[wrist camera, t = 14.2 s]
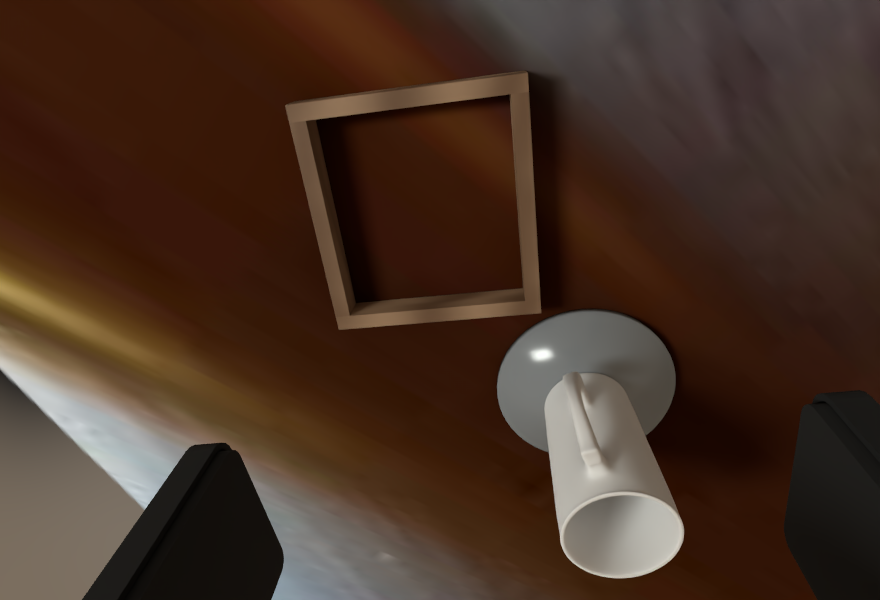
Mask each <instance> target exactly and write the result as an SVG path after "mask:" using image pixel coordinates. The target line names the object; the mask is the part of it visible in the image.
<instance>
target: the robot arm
mask: <svg viewBox="0 0 880 600" xmlns="http://www.w3.org/2000/svg"><path fill="white" fill-rule="evenodd" d="M784 532H785V537H786V541H787V544H788V547H789V549H790V551H791V553H792V554H793V556H794V558H795V560H796V562H797V563H798V565H799V567H800V569H801V571H802V572H803V574H804V576H805V578H806V580H807V581H808V583H809V585H810V587H811V589H812V590H813V592H814V594H815V596H816V598H817V599H818V600H880V405H879V404H878V403H877V402H876V401H875V400H874V399H873V398H872V397H871V396H870V395H868V394H867V393H866V392H864V391H860V390H858V391H845V392H833V393H821V394H817V395H816V396H815V398H814V399H813V403H812V404H807V405H805V406H804V407H803V408H802V412H801V418H800V425H799V431H798V438H797V444H796V451H795V457H794V464H793V470H792V477H791V483H790V490H789V496H788V503H787V509H786V516H785V522H784ZM283 563H284V556H283V550H282V547H281V545H280V543H279V541H278V539H277V536H276V534H275V532H274V530H273V527H272V525H271V523H270V521H269V518H268V516H267V514H266V512H265V510H264V507H263V505H262V503H261V501H260V498H259V496H258V494H257V492H256V489H255V487H254V485H253V483H252V481H251V478H250V476H249V474H248V472H247V469H246V467H245V465H244V463H243V460H242V458H241V456H240V454H239V453H238V452H237V451H236V450H232V449H231V448H230V446H229V445H228V444H226V443H213V444H201V445H194V446H191V447H190V448H189V449H188V450H187V451H186V452H185V454H184V455H183V456H182V458H181V459H180V461H179V462H178V464H177V465H176V466H175V468H174V469H173V471H172V472H171V474H170V475H169V476H168V478H167V479H166V481H165V482H164V484H163V485H162V486H161V488H160V489H159V491H158V492H157V494H156V495H155V496H154V498H153V499H152V501H151V502H150V504H149V505H148V506H147V508H146V509H145V511H144V512H143V514H142V515H141V516H140V518H139V519H138V521H137V522H136V523H135V525H134V526H133V528H132V529H131V531H130V532H129V534H128V535H127V536H126V538H125V539H124V541H123V542H122V543H121V545H120V547H119V548H118V549H117V551H116V552H115V554H114V555H113V556H112V558H111V559H110V561H109V562H108V563H107V565H106V566H105V568H104V569H103V571H102V572H101V574H100V575H99V576H98V578H97V579H96V581H95V582H94V584H93V585H92V586H91V588H90V589H89V591H88V592H87V593H86V595H85V596H84V598H83V599H82V600H271V599H272V596H273V593H274V591H275V588H276V585H277V583H278V580H279V578H280V575H281V572H282V569H283Z"/></svg>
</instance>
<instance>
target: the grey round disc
mask: <svg viewBox="0 0 880 600" xmlns="http://www.w3.org/2000/svg"><path fill="white" fill-rule="evenodd" d="M571 372H578V373H579V374H580V373H598V374H602V375H605V376H608V377H610V378H612V379H614V380H615V381H616V382H618V383H619V384H620V385H621V386H622V388H623V389H624V390H625V392H626V394H627V396H628V398H629V400H630V403H631V405H632V407H633V409H634V411H635V413H636V415H637V418H638V420H639V422H640V425H641V427H642V430H643V432H644V434H645V436H646V435H647V434H648V433H649V432H651V431H652V430H653V429H654V428H655V427H656V426H657V425H658V423H659V422H660V421H661V420H662V418H663V417H664V415H665V414H666V412H667V411H668V409H669V407H670V404H671V402H672V399H673V396H674V392H675V385H676V374H675V369H674V364H673V361H672V359H671V356H670V354H669V352H668V350H667V349H666V347H665V345H664V344H663V342H662V341H661V339H660V338H659V337H658V336H657V334H655V333H654V332H653V331H652V330H651V329H650V328H649V327H648V326H646V325H645V324H643V323H642V322H640V321H638V320H636V319H634V318H632V317H630V316H628V315H625V314H622V313H619V312H615V311H610V310H604V309H578V310H571V311H567V312H563V313H559V314H556V315H553V316H551V317H548V318H546V319H544V320H542V321H540V322H538V323H536V324H535V325H533V326H532V327H530V328H529V329H527V330H526V331H525V332H524V333H523V334H522V335H520V336H519V337H518V338H517V339H516V341H515V342H514V343H513V344H512V345H511V347H510V348H509V350H508V351H507V353H506V354H505V356H504V358H503V361H502V363H501V366H500V369H499V372H498V379H497V394H498V401H499V405H500V408H501V411H502V414H503V416H504V417H505V419H506V421H507V423H508V424H509V425H510V427H511V428H512V429H513V430H514V431H515V432H516V433H517V434H518V435H519V436H520V437H521V438H523V439H524V440H525V441H526V442H528V443H530V444H531V445H533V446H535V447H537V448H539V449H541V450H544V451H547V452H549V448H548V440H547V430H546V420H545V410H544V407H545V401H546V398H547V396H548V394H549V392H550V391H551V389H552V388H553V387H554V386H555V385H556V384H557V383H559V382H560V381H562V380H563V376H564V375H565V374H568V373H571Z"/></svg>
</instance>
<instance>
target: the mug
mask: <svg viewBox="0 0 880 600" xmlns="http://www.w3.org/2000/svg"><path fill="white" fill-rule="evenodd" d="M544 410H545V420H546V430H547V440H548V448H549V456H550V464H551V472H552V480H553V489H554V497H555V505H556V513H557V520H558V526H559V531H560V541H561V545H562V548H563V550H564V552H565V554H566V556H567V557H568V558H569V559H570V560H571V561H572V562H573V563H574V564H575V565H577V566H578V567H580V568H581V569H583V570H585V571H587V572H589V573H592V574H595V575H598V576H603V577H609V578H630V577H637V576H641V575H644V574H647V573H650V572H653V571H655V570H657V569H659V568H660V567H662V566H664V565H665V564H666V563H668V562H669V561H670V560H671V559H672V558H673V557H674V556H675V555H676V553H677V552H678V551H679V549H680V547H681V545H682V542H683V538H684V527H683V523H682V520H681V518H680V516H679V513H678V511H677V508H676V506H675V503H674V501H673V498H672V496H671V493H670V491H669V489H668V487H667V484H666V482H665V480H664V477H663V475H662V473H661V471H660V468H659V466H658V464H657V462H656V459H655V457H654V455H653V452H652V450H651V448H650V446H649V443H648V441H647V439H646V436H645V434H644V432H643V430H642V427H641V425H640V422H639V420H638V418H637V415H636V413H635V411H634V409H633V407H632V405H631V403H630V400H629V398H628V396H627V394H626V392H625V390H624V389H623V388H622V386H621V385H620V384H619V383H618V382H616V381H615V380H614V379H612V378H610V377H608V376H605V375H602V374H598V373H580V374H579V373H578V372H571V373H568V374H565V375H564V376H563V380H562V381H560V382H559V383H557V384H556V385H555V386H554V387H553V388H552V389H551V391H550V392H549V394H548V396H547V398H546V401H545V407H544Z"/></svg>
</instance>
